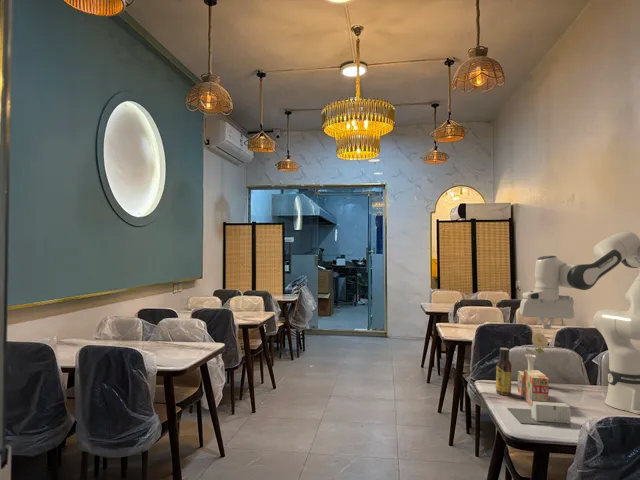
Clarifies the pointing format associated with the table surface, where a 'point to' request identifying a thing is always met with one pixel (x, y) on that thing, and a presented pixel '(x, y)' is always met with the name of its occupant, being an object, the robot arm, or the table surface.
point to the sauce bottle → (503, 373)
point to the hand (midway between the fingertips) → (546, 328)
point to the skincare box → (550, 412)
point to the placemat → (526, 418)
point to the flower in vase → (540, 343)
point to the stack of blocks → (533, 386)
